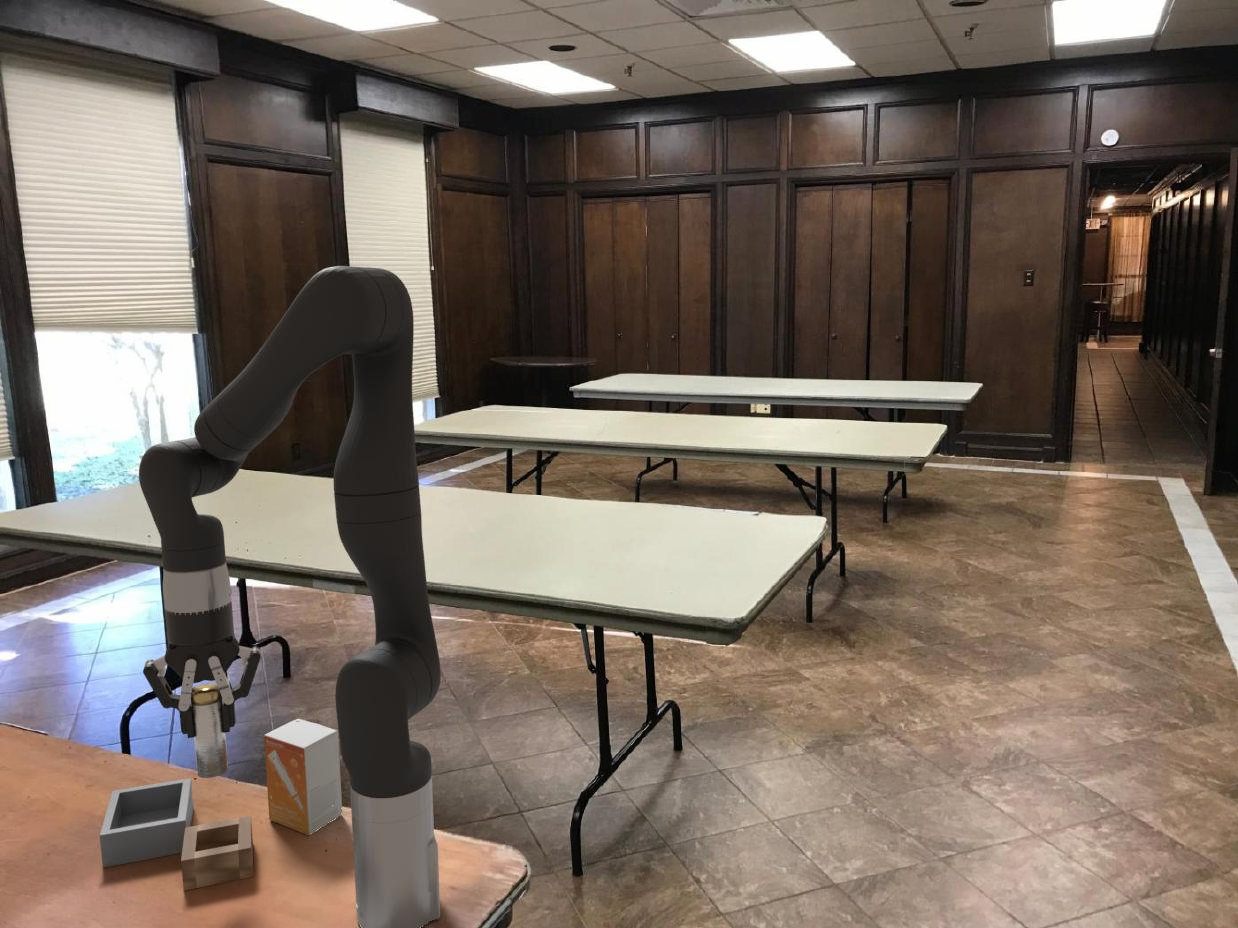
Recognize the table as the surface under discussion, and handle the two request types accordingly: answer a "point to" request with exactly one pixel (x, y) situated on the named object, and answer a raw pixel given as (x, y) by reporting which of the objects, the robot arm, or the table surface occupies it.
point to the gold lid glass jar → (209, 730)
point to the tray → (146, 822)
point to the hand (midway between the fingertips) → (209, 731)
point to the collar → (217, 853)
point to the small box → (303, 775)
